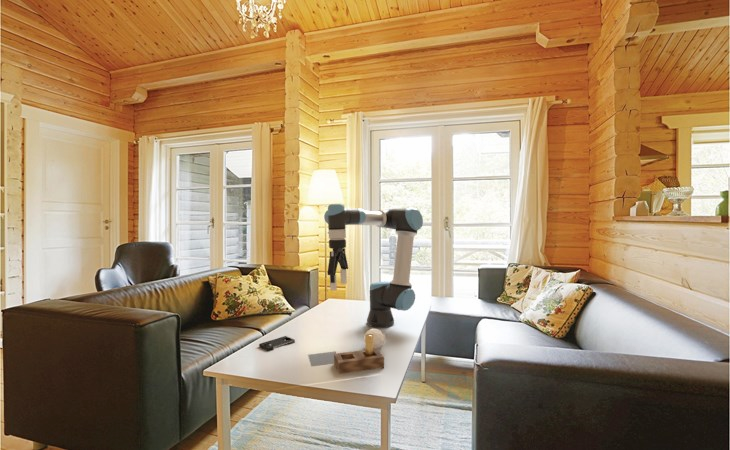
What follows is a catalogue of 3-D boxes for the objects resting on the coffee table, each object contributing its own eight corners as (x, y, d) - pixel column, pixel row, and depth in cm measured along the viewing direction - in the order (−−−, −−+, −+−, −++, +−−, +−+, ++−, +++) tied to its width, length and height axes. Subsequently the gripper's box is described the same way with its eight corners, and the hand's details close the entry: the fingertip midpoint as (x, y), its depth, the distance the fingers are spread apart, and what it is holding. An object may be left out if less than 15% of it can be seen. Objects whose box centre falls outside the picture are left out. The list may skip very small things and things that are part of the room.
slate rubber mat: (335, 352, 149) (335, 351, 149) (341, 363, 137) (341, 362, 137) (308, 355, 145) (308, 354, 145) (311, 367, 134) (311, 366, 134)
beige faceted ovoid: (377, 350, 146) (392, 345, 155) (373, 328, 148) (388, 324, 158) (362, 352, 151) (377, 347, 160) (358, 331, 153) (373, 327, 163)
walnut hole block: (377, 359, 141) (376, 348, 141) (384, 368, 132) (384, 356, 132) (334, 364, 136) (334, 353, 136) (338, 374, 127) (338, 362, 127)
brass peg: (372, 363, 137) (371, 333, 137) (374, 366, 134) (374, 336, 134) (364, 364, 136) (364, 334, 136) (366, 367, 133) (366, 337, 133)
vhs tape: (268, 352, 151) (268, 348, 151) (259, 348, 156) (259, 343, 156) (295, 343, 161) (295, 339, 161) (285, 340, 166) (285, 335, 166)
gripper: (338, 236, 163) (340, 280, 164) (318, 241, 139) (320, 292, 140) (353, 236, 161) (354, 281, 162) (335, 241, 137) (337, 293, 138)
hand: (338, 286), depth 151 cm, fingers open, 13 cm apart
